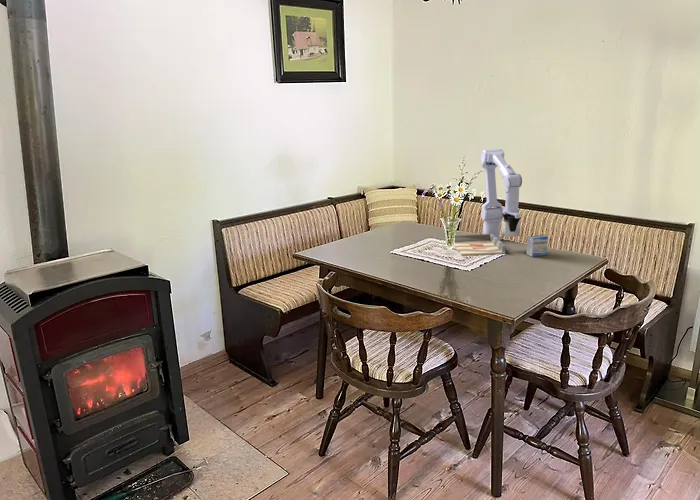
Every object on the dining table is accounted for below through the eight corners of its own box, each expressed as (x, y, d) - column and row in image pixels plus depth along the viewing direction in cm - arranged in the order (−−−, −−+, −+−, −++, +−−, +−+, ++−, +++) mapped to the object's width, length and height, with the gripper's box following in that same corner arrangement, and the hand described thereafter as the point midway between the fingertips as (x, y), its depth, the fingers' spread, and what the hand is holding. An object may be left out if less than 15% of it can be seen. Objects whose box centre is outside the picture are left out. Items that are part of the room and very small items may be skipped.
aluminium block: (501, 234, 251) (502, 220, 249) (516, 233, 252) (516, 219, 250) (504, 237, 247) (505, 222, 245) (519, 236, 248) (520, 221, 246)
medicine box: (531, 257, 239) (532, 238, 237) (526, 254, 244) (527, 236, 241) (547, 255, 241) (548, 236, 239) (541, 252, 246) (542, 234, 243)
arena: (451, 242, 267) (451, 235, 266) (492, 240, 267) (492, 233, 266) (461, 255, 246) (461, 247, 245) (505, 253, 246) (505, 245, 245)
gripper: (497, 198, 252) (496, 227, 256) (509, 204, 238) (508, 234, 242) (512, 197, 252) (511, 226, 256) (525, 203, 239) (523, 233, 242)
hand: (510, 230), depth 249 cm, fingers closed on aluminium block, 4 cm apart
